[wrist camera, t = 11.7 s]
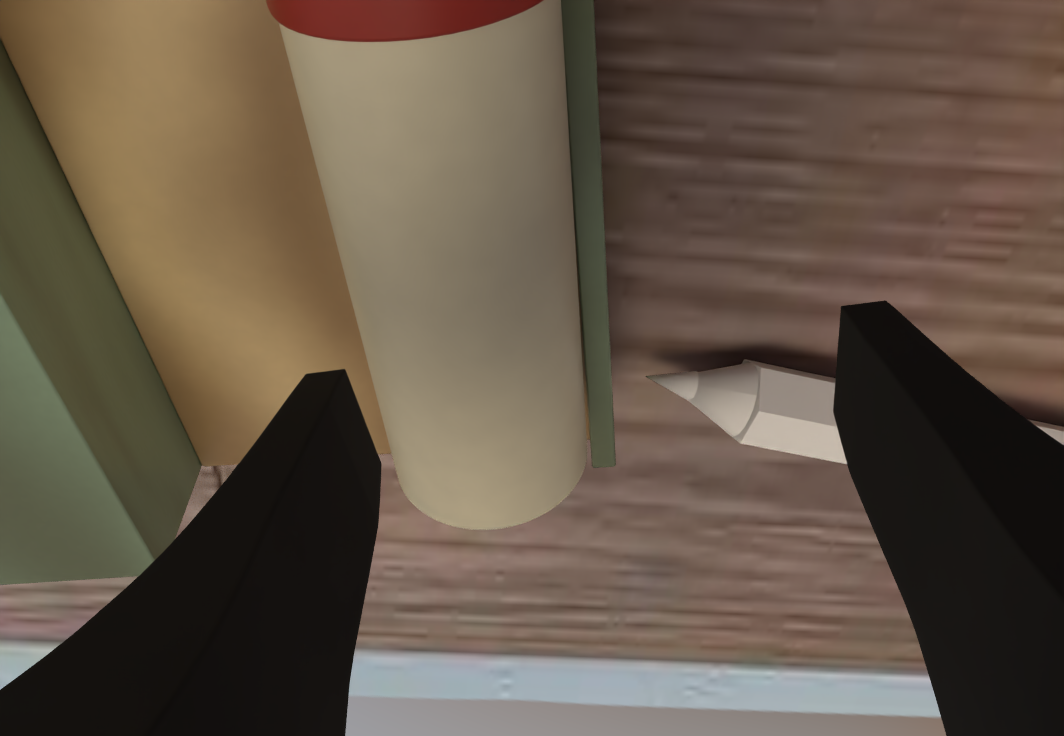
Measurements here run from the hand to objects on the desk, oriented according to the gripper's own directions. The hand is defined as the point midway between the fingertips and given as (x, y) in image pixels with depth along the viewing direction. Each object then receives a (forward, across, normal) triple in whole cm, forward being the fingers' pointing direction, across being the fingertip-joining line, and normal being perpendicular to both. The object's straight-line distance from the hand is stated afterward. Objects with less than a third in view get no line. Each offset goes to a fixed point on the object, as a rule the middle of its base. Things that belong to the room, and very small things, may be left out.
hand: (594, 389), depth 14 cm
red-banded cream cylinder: (+5, +4, -2) cm, 7 cm away
